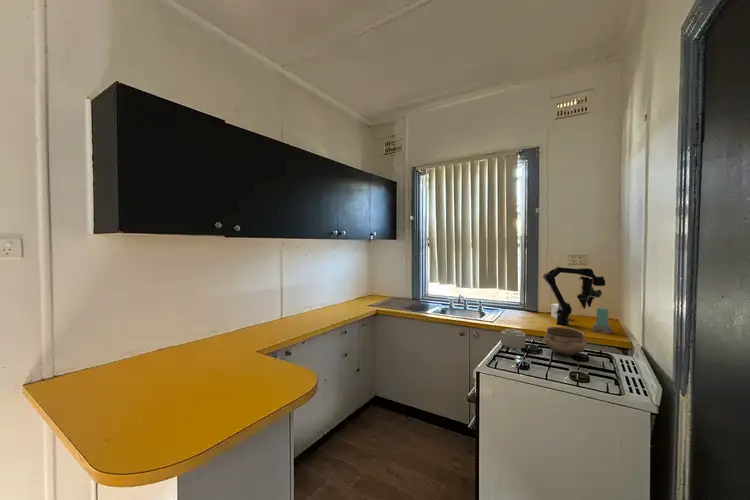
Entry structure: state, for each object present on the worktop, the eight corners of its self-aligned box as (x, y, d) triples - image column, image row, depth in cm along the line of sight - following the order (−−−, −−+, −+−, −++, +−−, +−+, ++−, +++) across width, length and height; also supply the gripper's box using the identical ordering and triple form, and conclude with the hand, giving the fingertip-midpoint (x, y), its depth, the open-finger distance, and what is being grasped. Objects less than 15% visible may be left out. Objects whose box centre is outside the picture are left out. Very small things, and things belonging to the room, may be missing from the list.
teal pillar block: (596, 325, 207) (596, 308, 206) (599, 323, 210) (599, 307, 209) (605, 326, 203) (605, 310, 202) (608, 325, 206) (608, 308, 205)
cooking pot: (584, 365, 149) (585, 340, 149) (540, 356, 160) (540, 333, 160) (586, 350, 169) (587, 328, 169) (547, 344, 181) (547, 323, 180)
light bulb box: (567, 319, 238) (567, 306, 238) (558, 319, 238) (558, 306, 238) (559, 316, 249) (559, 303, 249) (550, 316, 249) (550, 303, 249)
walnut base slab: (590, 332, 207) (590, 328, 207) (595, 329, 213) (595, 326, 213) (608, 335, 199) (608, 331, 199) (613, 332, 206) (613, 329, 206)
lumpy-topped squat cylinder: (524, 349, 172) (524, 334, 172) (499, 345, 178) (499, 331, 178) (525, 344, 181) (525, 329, 181) (501, 341, 187) (502, 326, 187)
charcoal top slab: (593, 328, 207) (593, 325, 207) (596, 326, 212) (596, 322, 212) (607, 331, 201) (607, 327, 201) (610, 328, 206) (610, 325, 206)
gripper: (595, 288, 209) (595, 311, 209) (605, 285, 220) (605, 307, 220) (576, 286, 218) (576, 308, 218) (587, 284, 229) (587, 305, 229)
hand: (586, 307), depth 221 cm, fingers open, 9 cm apart
